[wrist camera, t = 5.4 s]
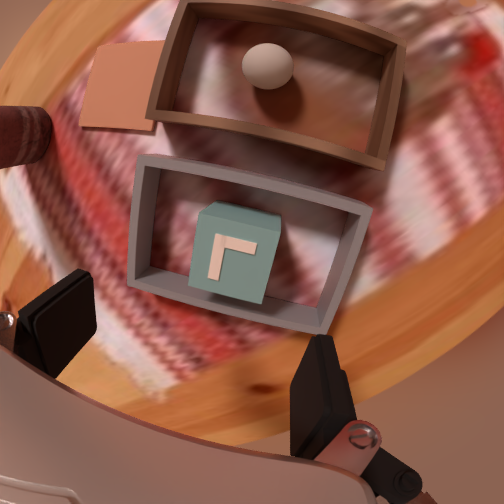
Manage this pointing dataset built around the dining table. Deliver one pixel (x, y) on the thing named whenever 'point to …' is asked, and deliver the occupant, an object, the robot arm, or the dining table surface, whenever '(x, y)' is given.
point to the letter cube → (234, 250)
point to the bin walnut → (297, 17)
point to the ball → (267, 66)
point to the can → (23, 135)
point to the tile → (121, 85)
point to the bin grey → (266, 312)
